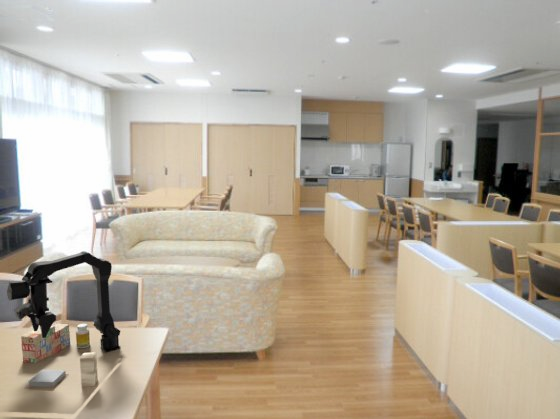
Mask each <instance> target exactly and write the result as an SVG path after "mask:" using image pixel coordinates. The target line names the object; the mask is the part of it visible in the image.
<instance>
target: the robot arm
mask: <svg viewBox="0 0 560 419" xmlns="http://www.w3.org/2000/svg"><path fill="white" fill-rule="evenodd" d="M84 263H85V264H87V265H89V266H90V267H91V269H92V273H93V276H94V278H95V280H96V289H97V290H96V292H97V293H96V294H97V309H98V310H97V314H96V316H93V321H94V322H93V326H94V327H95V330H97V331H98V332H99V333H100V334H101V336H100V337H101V338H100V340H99V341H100V349H102V350H103V351H104V352H105V353H108V352H111V351H115V350H119V349H121V346H120V343H119V342H120V341H119V340H120V339H119V336H121V335H120V334H121V330H120V329H119V328H117V327H116V325H115V322H114V318H113V316H112V314H111V308H110V307H111V306H110V288H109V285H110V284H109V279H110V278H111V276H112V267H113V266H112V263H111V262H110V261H109V260H105V259H104V258H98V257H96V256H94V255H93V254H91V253H90V252H87V251H81V252H79V253H74V254H70V255H68V256H65V257H61V258H58V259H54V260H48V261H46V260H44V261H43V260H42V261H34V262H32V263H30V264H29V266H28V268H27V271H26V273H25V274H24V275H23V277H22V278H21V280H18V281H9V282H8V286H7V288H6V295H7V300H9V301H15V300H20V299H21V300H22V299H26V298H28V299H27V302H26V303H23V304H21V305H19V306H17V307H14V309H13V312H14V314H15V316H16V318H17V319H18V320H22V319H25V318H26V317H28V318H29V320H30V323H31V325H32V330H34V331H37V330H38V327H39V326H40V329H41V334H42V338H46V336H47V334H48V332H49V330H50V328H51V326H53V325H54V323H55V321H56V322H57V315H56V314H54V313H53V312H52V311H50V307H48V301H50V298H49V297H48V292H47V291H48V287H47V286H48V284H51V283H54V282H53V280H52V279H50V278H49V277H51V275H53V274H54V273H56V272H59V271H61V270H65V269H68V268H71V267H74V266H77V265H81V264H84Z"/></svg>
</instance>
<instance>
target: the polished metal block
mask: <svg viewBox="0 0 560 419" xmlns="http://www.w3.org/2000/svg"><path fill="white" fill-rule="evenodd" d="M97 361H98V360H97V352H96V351H95V352H93V351H92V352H83V353H82V354H81V356H80V358H79V365H80V379H81V380H80V382H81V383H80V384H81V387H82V388H83V387H85V388H86V387H94V386H96V384H97V382H98V362H97Z"/></svg>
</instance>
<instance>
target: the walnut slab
mask: <svg viewBox="0 0 560 419" xmlns="http://www.w3.org/2000/svg"><path fill="white" fill-rule="evenodd" d="M68 376H70V373H66V376H64V377H63V378H62V379H61V380H60V381H59V382H58V383H57V384H56V385H55V386H54V387H29V383H28V384H27V385H26V386H25V387H24V389H31V390H33V389H35V390H37V389H39V390H40V389H41V390H46V389H47V390H55V389H56V388H57V387H58V386H59V385H60V384H61V383H62V382H63V381H64V380H65V379H66V378H67V377H68Z"/></svg>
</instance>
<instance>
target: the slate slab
mask: <svg viewBox="0 0 560 419" xmlns="http://www.w3.org/2000/svg"><path fill="white" fill-rule="evenodd" d="M66 374H67V372H66V370H64V369H63V370H62V369H61V370H59V369H41V370H40V371H39V372H38V373H36V374H35V375H34V376H33V377H32V378H31V379H29V380H28V384H29V387H54V386H55V385H56V384H57V383H58V382H59V381H60V380H61V379H62V378H63V377H64V376H66Z"/></svg>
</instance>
